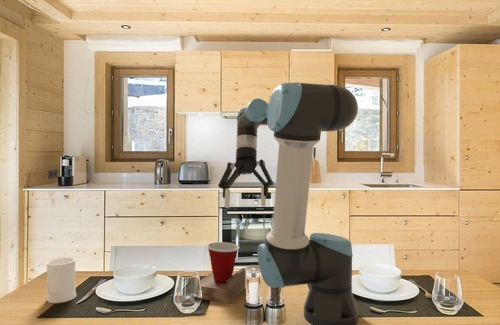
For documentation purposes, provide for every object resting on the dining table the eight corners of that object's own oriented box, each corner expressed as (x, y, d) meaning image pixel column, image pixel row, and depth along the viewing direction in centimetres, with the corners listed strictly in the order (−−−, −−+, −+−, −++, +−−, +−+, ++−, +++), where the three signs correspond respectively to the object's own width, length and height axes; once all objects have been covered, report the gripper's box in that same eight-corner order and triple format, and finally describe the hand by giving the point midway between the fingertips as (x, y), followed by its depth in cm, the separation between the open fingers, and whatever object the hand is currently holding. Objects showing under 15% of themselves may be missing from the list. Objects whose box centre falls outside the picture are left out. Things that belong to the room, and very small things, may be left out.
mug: (58, 308, 109) (58, 269, 109) (32, 307, 110) (32, 268, 110) (81, 293, 121) (81, 257, 121) (58, 292, 122) (57, 256, 122)
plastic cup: (238, 286, 116) (238, 249, 115) (204, 286, 116) (204, 249, 116) (240, 275, 127) (240, 241, 126) (209, 275, 127) (209, 241, 126)
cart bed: (245, 288, 125) (245, 268, 125) (230, 303, 113) (230, 280, 113) (211, 283, 129) (211, 264, 129) (193, 297, 117) (193, 276, 117)
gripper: (282, 149, 132) (282, 207, 126) (220, 155, 141) (217, 209, 134) (276, 142, 125) (275, 202, 119) (211, 149, 134) (207, 206, 128)
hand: (244, 206), depth 127 cm, fingers open, 13 cm apart
